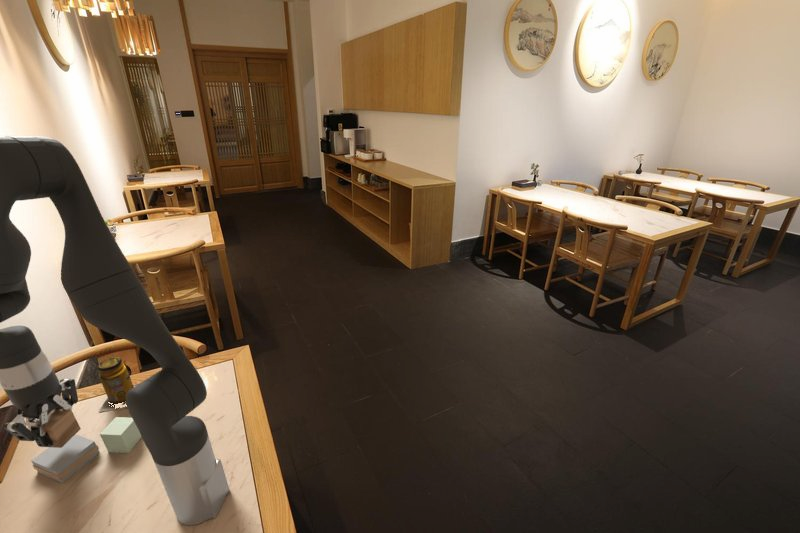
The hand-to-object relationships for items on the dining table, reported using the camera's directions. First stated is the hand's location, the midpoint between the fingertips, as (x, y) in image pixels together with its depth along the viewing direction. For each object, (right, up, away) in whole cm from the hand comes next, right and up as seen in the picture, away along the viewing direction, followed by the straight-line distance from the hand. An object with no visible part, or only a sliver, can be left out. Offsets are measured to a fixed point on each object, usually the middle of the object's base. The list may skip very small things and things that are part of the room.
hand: (59, 434), depth 81 cm
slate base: (0, -8, +3) cm, 9 cm away
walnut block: (0, -1, 0) cm, 1 cm away
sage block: (+9, -6, +8) cm, 13 cm away
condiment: (-2, 0, +21) cm, 21 cm away
